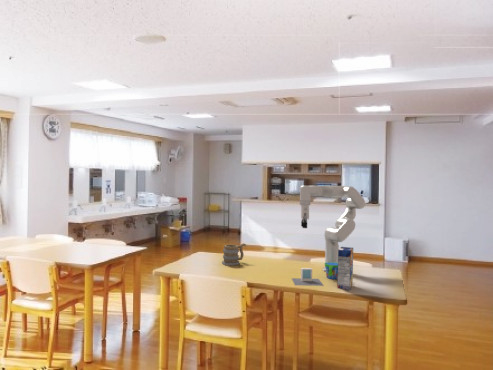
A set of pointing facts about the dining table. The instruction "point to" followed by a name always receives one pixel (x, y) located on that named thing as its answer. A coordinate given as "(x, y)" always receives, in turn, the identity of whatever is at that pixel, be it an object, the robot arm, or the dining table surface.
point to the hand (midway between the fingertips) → (304, 227)
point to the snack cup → (331, 270)
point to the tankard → (232, 254)
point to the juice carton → (345, 268)
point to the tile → (306, 274)
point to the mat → (307, 282)
